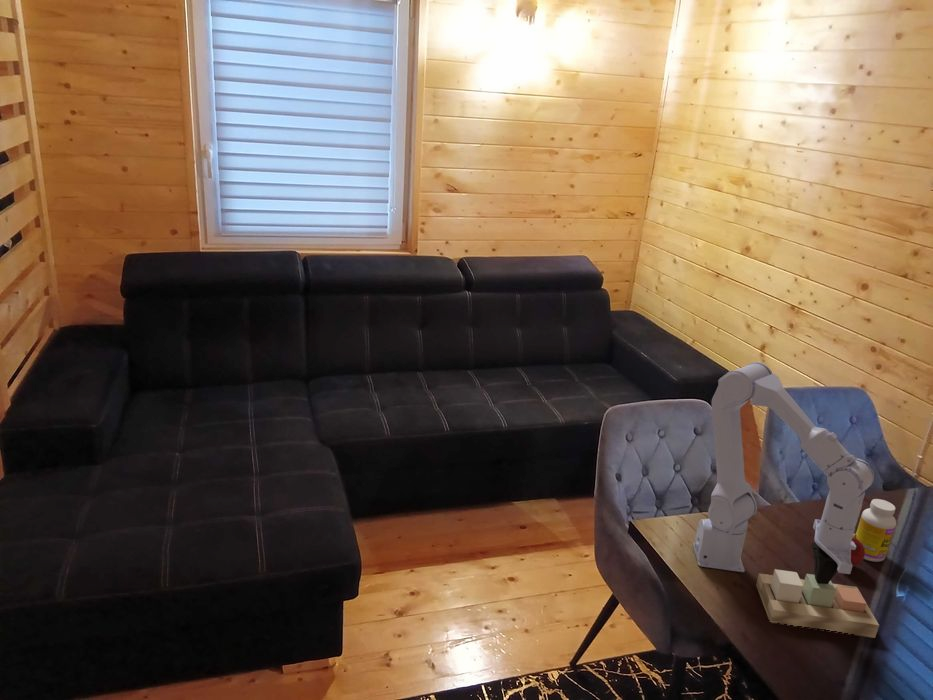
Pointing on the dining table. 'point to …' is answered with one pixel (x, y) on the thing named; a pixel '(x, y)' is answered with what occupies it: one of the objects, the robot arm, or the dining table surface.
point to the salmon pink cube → (849, 599)
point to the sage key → (818, 592)
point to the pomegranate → (857, 551)
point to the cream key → (786, 586)
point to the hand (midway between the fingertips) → (821, 581)
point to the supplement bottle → (876, 529)
